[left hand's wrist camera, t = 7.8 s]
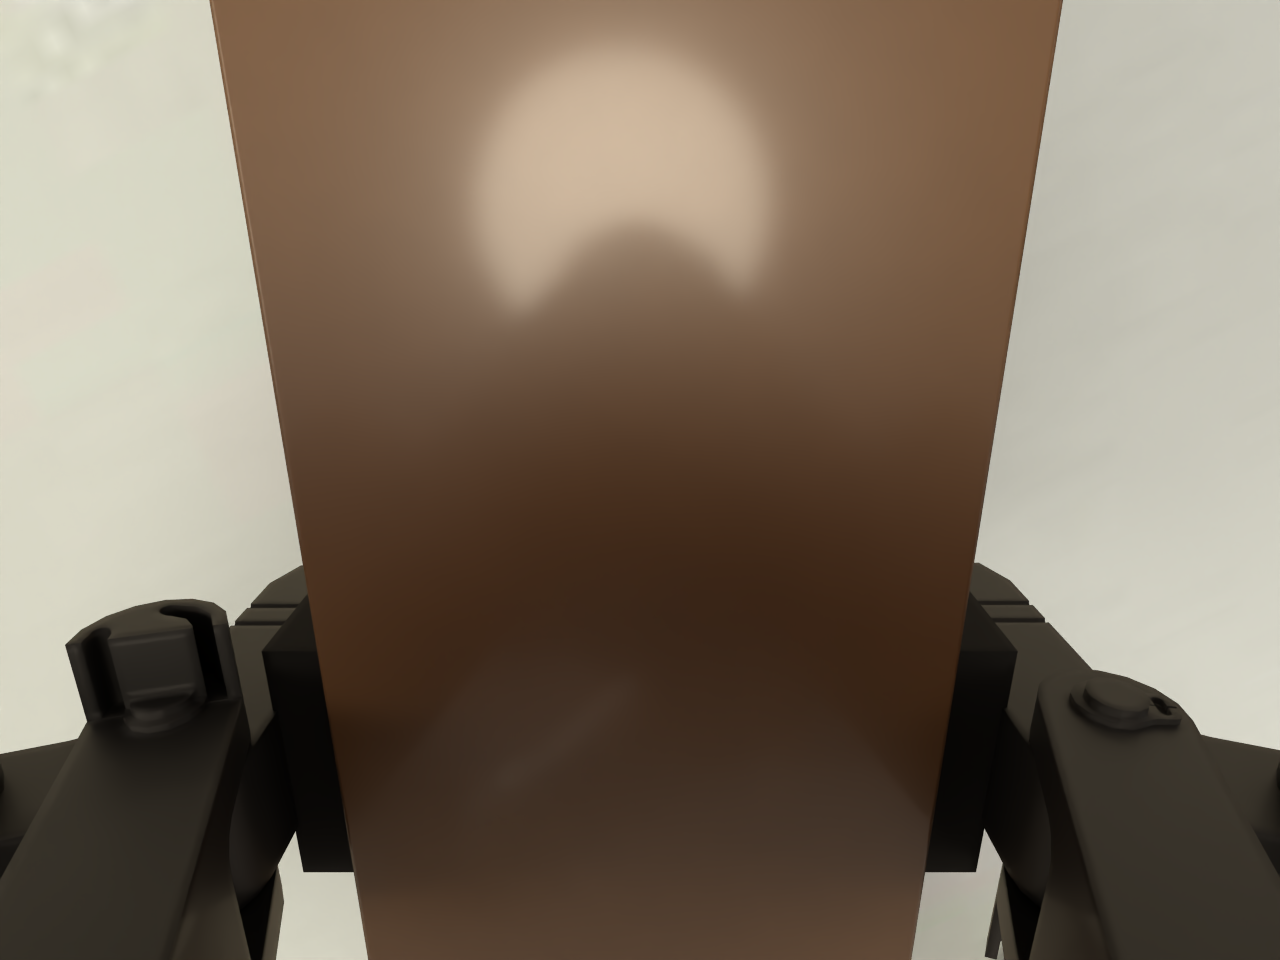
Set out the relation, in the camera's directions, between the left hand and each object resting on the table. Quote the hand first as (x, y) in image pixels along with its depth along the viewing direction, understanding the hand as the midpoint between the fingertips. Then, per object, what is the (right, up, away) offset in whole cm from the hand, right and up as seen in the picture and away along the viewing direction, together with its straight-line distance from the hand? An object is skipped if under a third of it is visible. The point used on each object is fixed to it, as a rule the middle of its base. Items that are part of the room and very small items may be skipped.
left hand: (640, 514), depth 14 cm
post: (0, +20, -7) cm, 21 cm away
